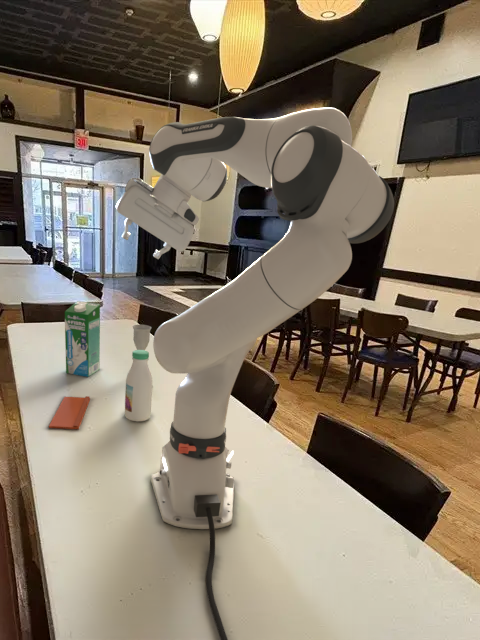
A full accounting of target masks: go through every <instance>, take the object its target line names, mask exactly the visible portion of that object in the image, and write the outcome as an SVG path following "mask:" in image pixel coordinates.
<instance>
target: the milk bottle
mask: <svg viewBox="0 0 480 640" xmlns="http://www.w3.org/2000/svg"><path fill="white" fill-rule="evenodd" d="M149 357H150V353H149V351H147V350H146V349H145V350H137V349H134V350H133V351H132V353H131V358H132V363H131V366H130V368H129V370H128V372H127V374H126V378H125V379H126V380H125V393H124V396H125V397H124V416H125V418H126V419H127V420H129V421H132V422H144V421H148V420H149V419H150V418H151V416H152V405H153V404H152V401H153V375H152V372H151V370H150V367H149Z"/></svg>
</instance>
